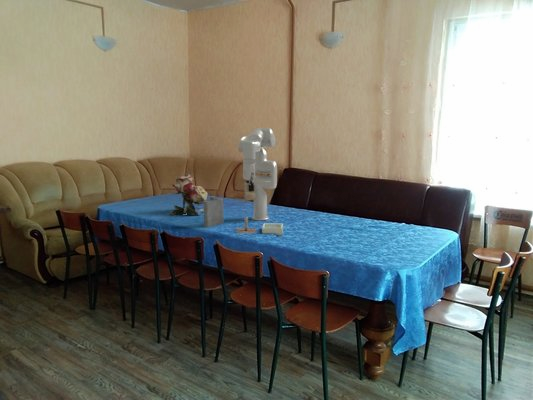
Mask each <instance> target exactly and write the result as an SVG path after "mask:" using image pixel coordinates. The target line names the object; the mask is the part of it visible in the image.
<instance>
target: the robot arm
mask: <svg viewBox="0 0 533 400" xmlns="http://www.w3.org/2000/svg"><path fill="white" fill-rule="evenodd" d="M275 146H276V136H275V133H274V131H273V129H272V128H270V127H258V128H257V127H256V128H254V129H252V131H251V133H250V134H248V135H245V136H242V137H241V138H240V139H239V140H238V144H237V150H238V151H239V152H240V153H242V164H243V166H242V179H243V180H244V183H249V191H254V184H255V200H253V215H252V216H251V220H252V221H267V220H269V219H270V216H268V195H267V192H266V190H274V189H276V188H277V185H278V164H277V161H275V160H270V159H269V160H268V152H267V151H266V150H265V148H274V147H275ZM256 174H260V175H256ZM261 174H266V175H261Z"/></svg>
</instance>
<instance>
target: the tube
mask: <svg viewBox="0 0 533 400" xmlns="http://www.w3.org/2000/svg"><path fill="white" fill-rule="evenodd" d="M243 186H244V187H243V188H244V191H243V193H244V198H243V199H244V200H245V201H254V200H255V184H254V191H249V183H245V182H244V185H243Z"/></svg>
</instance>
